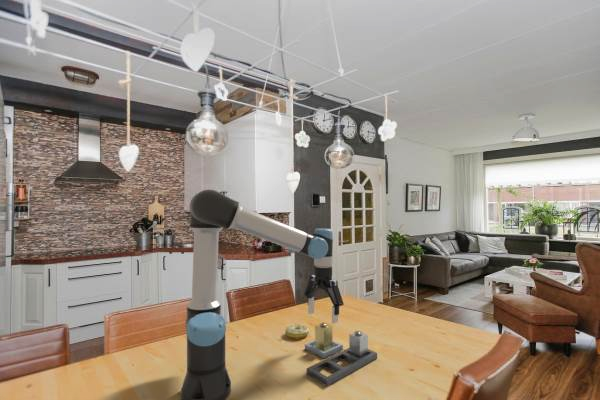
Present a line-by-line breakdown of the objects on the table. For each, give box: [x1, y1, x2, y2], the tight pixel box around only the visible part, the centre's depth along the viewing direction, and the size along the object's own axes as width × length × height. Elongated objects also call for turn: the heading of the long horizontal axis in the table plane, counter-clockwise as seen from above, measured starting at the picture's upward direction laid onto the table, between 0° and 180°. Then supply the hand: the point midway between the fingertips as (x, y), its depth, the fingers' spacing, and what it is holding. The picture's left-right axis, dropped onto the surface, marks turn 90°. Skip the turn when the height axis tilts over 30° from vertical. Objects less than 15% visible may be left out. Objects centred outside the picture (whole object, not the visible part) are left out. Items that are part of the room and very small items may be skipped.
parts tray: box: [304, 339, 344, 360], centre depth 127 cm, size 11×11×2 cm
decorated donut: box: [285, 323, 310, 340], centre depth 141 cm, size 10×11×4 cm
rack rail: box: [306, 347, 378, 387], centre depth 114 cm, size 28×10×2 cm, turn 132°
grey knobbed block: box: [348, 330, 369, 359], centre depth 120 cm, size 5×5×10 cm
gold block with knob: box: [314, 322, 333, 352], centre depth 127 cm, size 5×5×10 cm
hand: (322, 318), depth 127 cm, fingers open, 13 cm apart
